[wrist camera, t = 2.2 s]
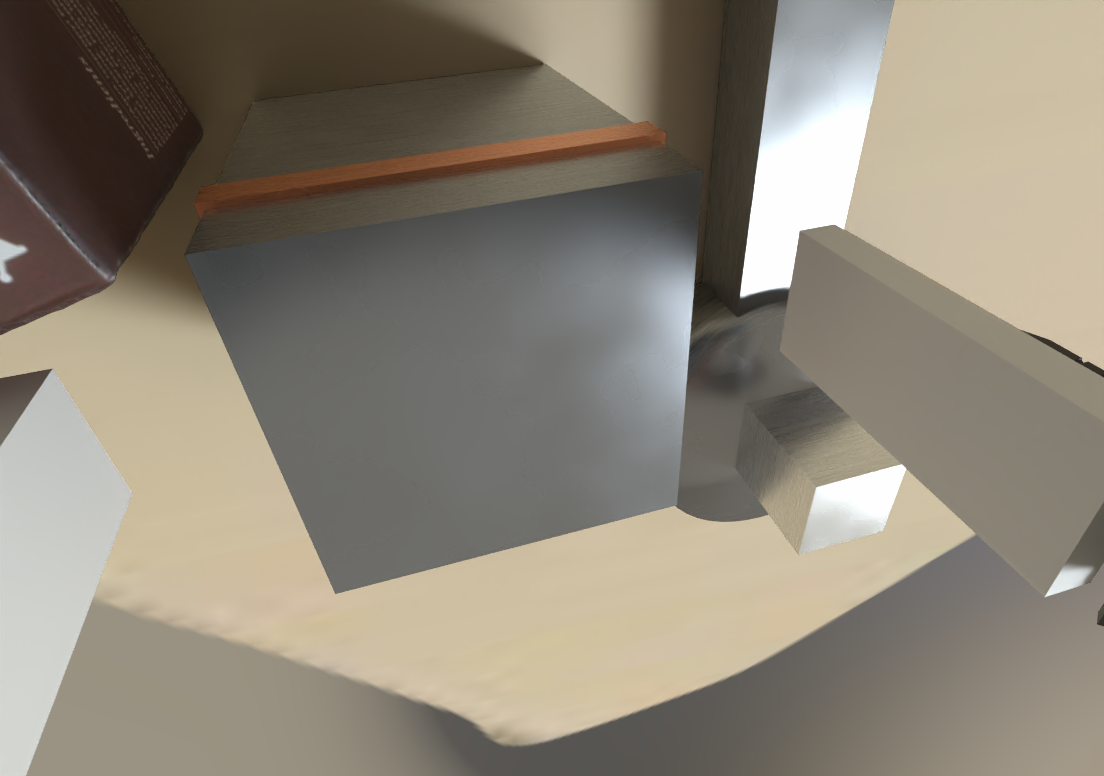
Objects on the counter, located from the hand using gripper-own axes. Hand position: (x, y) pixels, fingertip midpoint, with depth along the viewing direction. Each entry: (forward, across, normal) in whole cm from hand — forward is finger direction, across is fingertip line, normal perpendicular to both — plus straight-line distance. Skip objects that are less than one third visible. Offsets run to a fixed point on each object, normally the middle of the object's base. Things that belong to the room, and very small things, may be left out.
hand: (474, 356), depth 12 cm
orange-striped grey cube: (+6, 0, +1) cm, 6 cm away
